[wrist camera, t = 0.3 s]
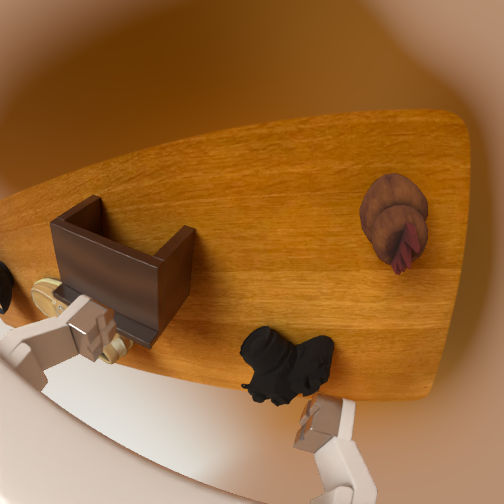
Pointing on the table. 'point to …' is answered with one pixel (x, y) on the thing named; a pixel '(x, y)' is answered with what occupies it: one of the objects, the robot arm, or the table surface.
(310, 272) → the table surface
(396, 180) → the wooden figurine
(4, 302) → the bowl
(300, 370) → the film camera
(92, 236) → the display shelf
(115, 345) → the boat shoe
